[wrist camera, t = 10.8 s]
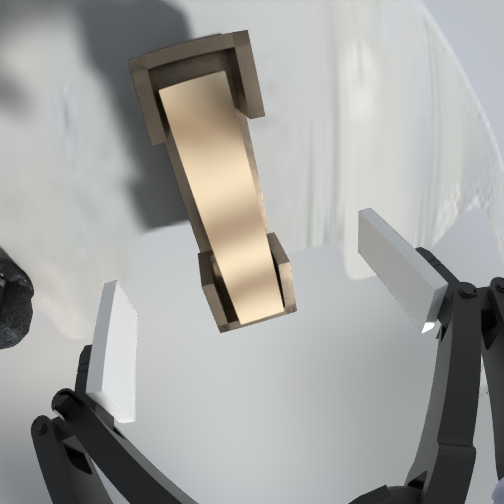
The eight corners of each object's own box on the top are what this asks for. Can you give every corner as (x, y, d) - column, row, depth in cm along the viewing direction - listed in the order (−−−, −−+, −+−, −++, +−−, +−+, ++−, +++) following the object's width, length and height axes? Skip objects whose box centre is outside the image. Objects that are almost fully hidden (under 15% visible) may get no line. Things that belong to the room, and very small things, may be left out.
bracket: (143, 60, 23) (122, 54, 15) (227, 39, 24) (249, 22, 15) (208, 272, 38) (219, 337, 29) (272, 254, 38) (299, 313, 29)
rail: (164, 87, 20) (158, 90, 16) (216, 71, 20) (224, 70, 16) (232, 289, 31) (241, 324, 27) (270, 277, 31) (284, 311, 27)
